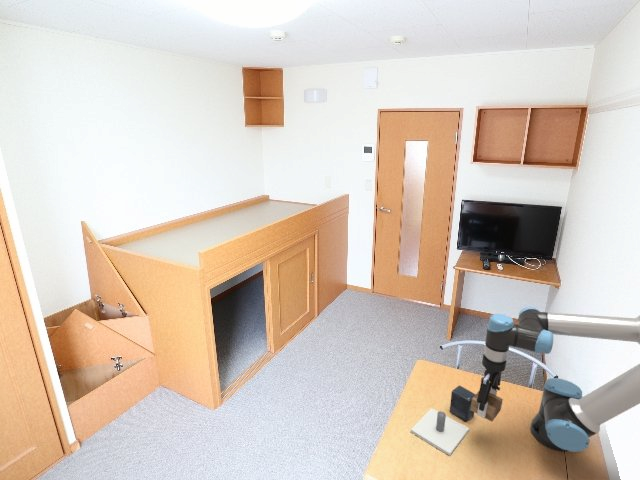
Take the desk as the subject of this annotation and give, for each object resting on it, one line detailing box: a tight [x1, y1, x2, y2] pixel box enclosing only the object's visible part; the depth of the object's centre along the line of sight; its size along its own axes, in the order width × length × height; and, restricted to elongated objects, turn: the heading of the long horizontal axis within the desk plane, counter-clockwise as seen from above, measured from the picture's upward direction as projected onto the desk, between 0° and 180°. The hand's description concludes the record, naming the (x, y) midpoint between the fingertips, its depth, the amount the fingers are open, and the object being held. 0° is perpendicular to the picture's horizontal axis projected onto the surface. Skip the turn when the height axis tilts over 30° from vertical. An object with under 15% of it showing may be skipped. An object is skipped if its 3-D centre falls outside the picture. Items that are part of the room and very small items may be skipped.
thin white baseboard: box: [410, 407, 470, 457], centre depth 148 cm, size 16×16×8 cm
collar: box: [470, 390, 504, 423], centre depth 141 cm, size 8×8×5 cm
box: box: [449, 385, 477, 423], centre depth 156 cm, size 8×6×11 cm
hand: (485, 409), depth 141 cm, fingers closed on collar, 8 cm apart
